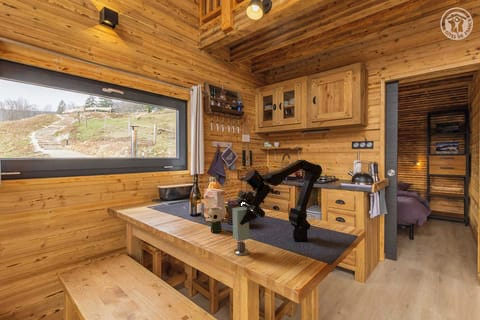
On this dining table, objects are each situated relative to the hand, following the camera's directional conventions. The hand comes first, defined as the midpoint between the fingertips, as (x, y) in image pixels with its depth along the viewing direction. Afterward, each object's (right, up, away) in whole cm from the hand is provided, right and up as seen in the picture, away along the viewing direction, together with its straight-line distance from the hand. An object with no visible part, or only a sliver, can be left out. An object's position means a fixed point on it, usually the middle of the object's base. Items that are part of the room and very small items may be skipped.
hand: (237, 222), depth 98 cm
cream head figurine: (-12, -13, +28) cm, 33 cm away
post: (+1, -13, +1) cm, 13 cm away
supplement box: (-2, -13, +39) cm, 41 cm away
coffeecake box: (-16, -12, +54) cm, 58 cm away
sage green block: (+1, -7, +1) cm, 7 cm away
